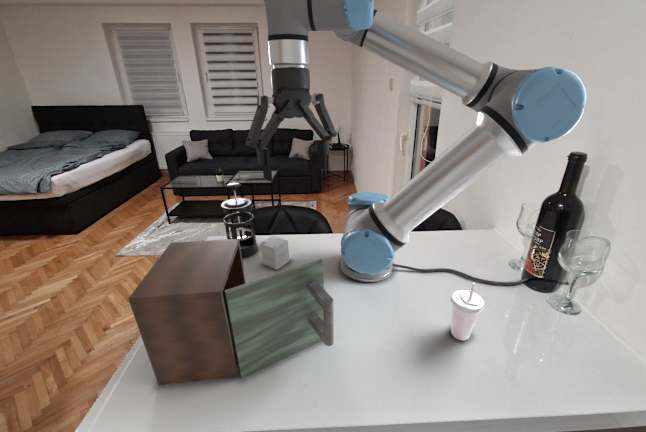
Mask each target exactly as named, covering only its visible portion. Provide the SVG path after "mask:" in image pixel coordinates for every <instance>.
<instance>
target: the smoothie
mask: <svg viewBox="0 0 646 432" xmlns="http://www.w3.org/2000/svg"><path fill="white" fill-rule="evenodd" d="M475 287H476V282H472V283H471V288H470V290H467V289H457V290H455V291H453V292H452V293H451V296H450V303H451V329H450V331H451V332H450V333H451V335H452V336H453V338H455V340H459V341H461V342H462V341H468V340H469V338H470V336H471V334H472V331H473V330H474V327H475V325H476V322H477V320H478V318H479V316H480V314H481V312H482V311H483V310H484V308H485V307H484V306H485V300H484V299H483V297H481V296H480V295H479V294H478V293H476V292H474V291H475Z"/></svg>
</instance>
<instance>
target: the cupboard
mask: <svg viewBox="0 0 646 432" xmlns="http://www.w3.org/2000/svg"><path fill="white" fill-rule="evenodd" d="M241 248H242V247H241V246H240V241H239V239H228V240H227V239H212V240H195V241H194V240H193V241H178V242H170V243H169V244H168V245H167V247H166V248H165V250H164V251H163V252H162V254H161V255H160V256H159V257H158V259H157V260H156V261H155V263H154V264H153V265H152V266H151V268H150V269H149V270H148V272H147V273H146V274H145V276H144V277H143V278H142V279H141V281H140V282H139V283H138V285H137V286H136V287H135V289H134V290H133V291H132V292H131V294H130V295H129V297H128V298H127V299H128V303H129V305H130V308H131V311H132V314H133V317H134V320H135V323H136V325H137V328H138V331H139V334H140V336H141V339H142V342H143V345H144V348H145V350H146V353H147V356H148V360H149V362H150V365H151V368H152V371H153V374H154V376H155V379H156V382H157V384H158V386H167V385H174V384H176V385H177V384H184V383H194V382H203V381H213V380H222V379H223V380H224V379H231V378H232V379H233V378H237V377H238V374H239V365H238V359H237V354H236V349H235V343H234V338H233V333H232V328H231V322H230V317H229V312H228V306H227V301H226V296H225V290H227V289H231V288H234V287H237V286H240V285H243V284H246V283H247V281H246V275H245V269H244V268H245V267H244V262H243V258H242V255H241Z"/></svg>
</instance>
